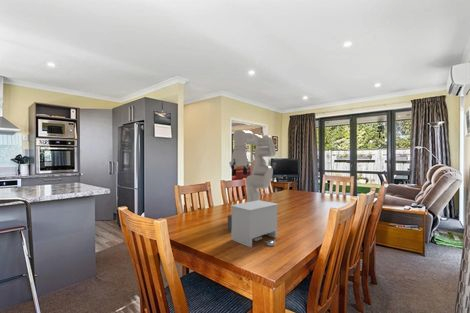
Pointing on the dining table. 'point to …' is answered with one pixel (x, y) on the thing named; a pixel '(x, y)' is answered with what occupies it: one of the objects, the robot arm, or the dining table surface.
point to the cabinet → (253, 221)
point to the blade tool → (231, 228)
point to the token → (270, 243)
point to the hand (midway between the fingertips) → (239, 174)
